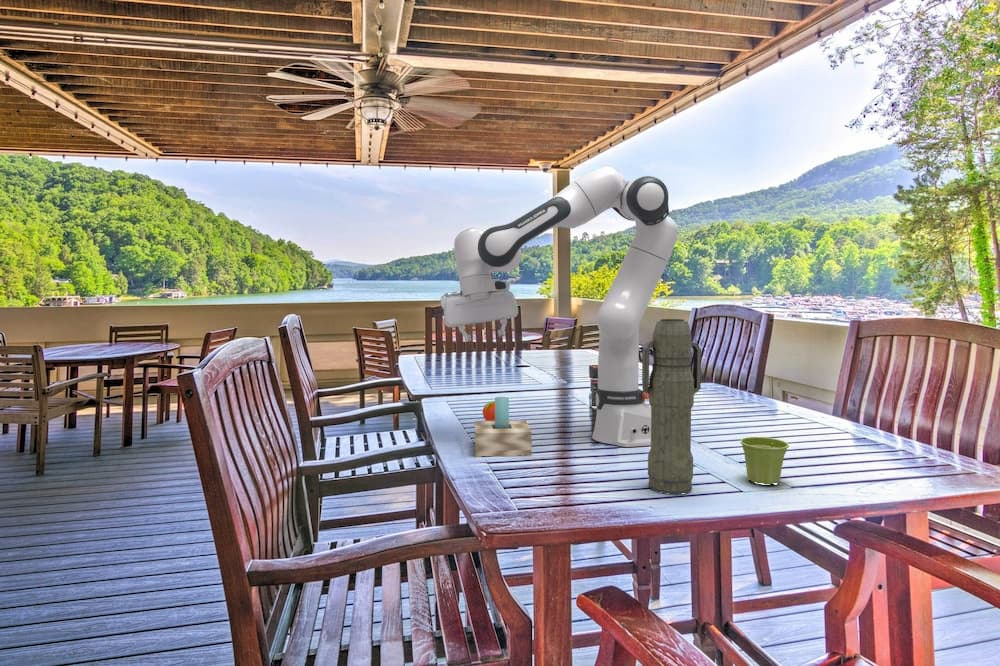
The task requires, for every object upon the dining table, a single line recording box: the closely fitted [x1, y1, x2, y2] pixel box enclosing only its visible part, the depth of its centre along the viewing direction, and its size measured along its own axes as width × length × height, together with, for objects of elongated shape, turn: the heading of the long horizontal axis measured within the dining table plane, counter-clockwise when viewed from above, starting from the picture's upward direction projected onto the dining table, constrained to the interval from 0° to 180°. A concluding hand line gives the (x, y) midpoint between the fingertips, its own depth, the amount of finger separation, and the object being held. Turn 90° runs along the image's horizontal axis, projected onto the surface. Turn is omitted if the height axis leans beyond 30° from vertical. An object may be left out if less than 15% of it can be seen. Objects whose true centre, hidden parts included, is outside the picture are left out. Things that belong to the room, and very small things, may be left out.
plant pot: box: [739, 436, 790, 484], centre depth 120 cm, size 9×9×9 cm
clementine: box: [482, 400, 495, 421], centre depth 179 cm, size 8×7×7 cm
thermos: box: [641, 318, 702, 495], centre depth 116 cm, size 9×12×35 cm
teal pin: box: [494, 396, 510, 429], centre depth 148 cm, size 4×4×12 cm
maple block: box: [474, 419, 533, 458], centre depth 148 cm, size 14×14×6 cm
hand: (485, 338), depth 153 cm, fingers open, 8 cm apart
